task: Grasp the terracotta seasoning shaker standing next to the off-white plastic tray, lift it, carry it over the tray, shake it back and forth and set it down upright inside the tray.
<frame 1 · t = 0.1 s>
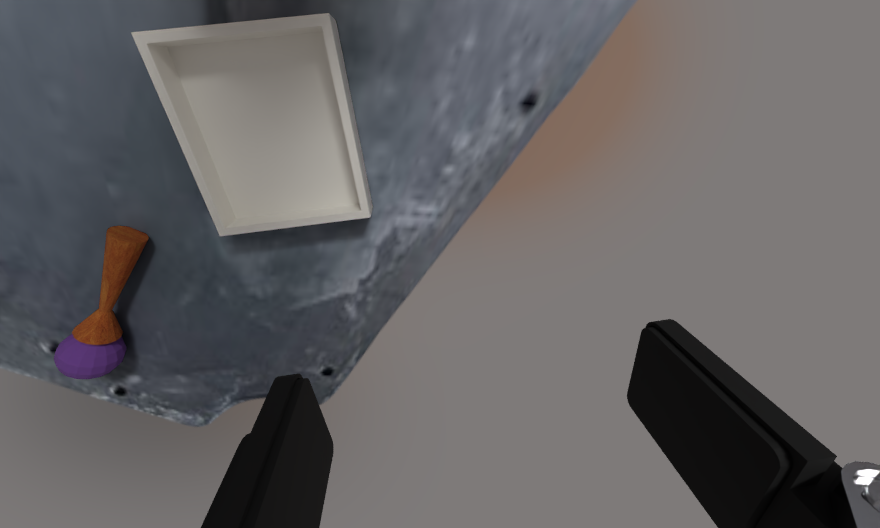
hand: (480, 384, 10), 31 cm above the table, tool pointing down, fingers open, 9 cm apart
brown purple handled piece: (122, 295, 41), on the table
tray: (279, 133, 34), on the table
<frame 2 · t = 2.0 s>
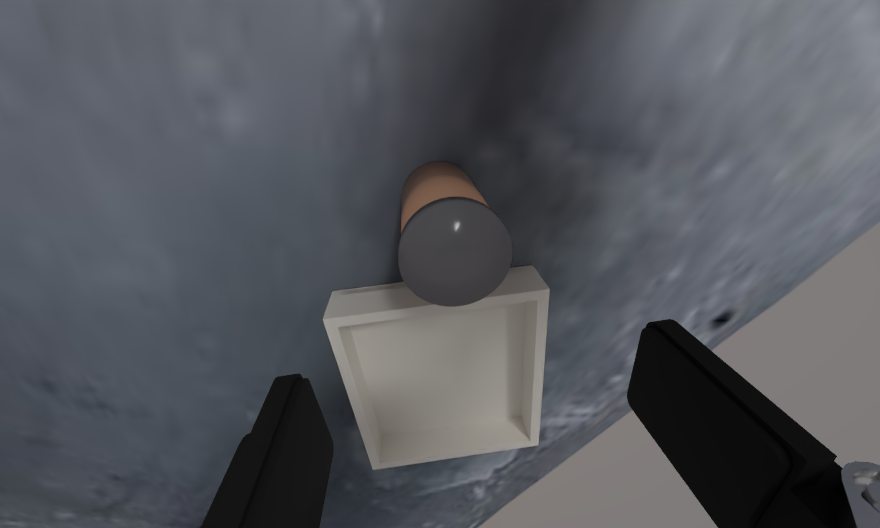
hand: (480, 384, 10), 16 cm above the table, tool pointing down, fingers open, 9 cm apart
tray: (443, 361, 30), on the table
shaker: (438, 198, 23), on the table
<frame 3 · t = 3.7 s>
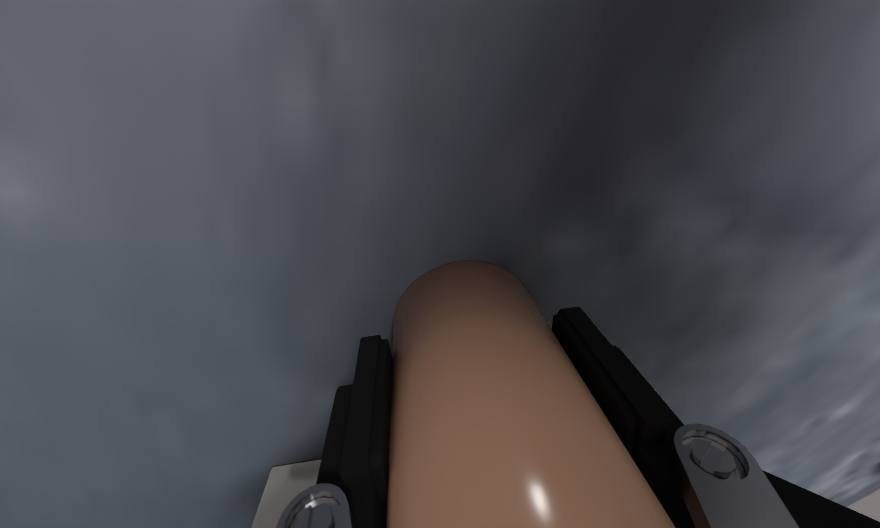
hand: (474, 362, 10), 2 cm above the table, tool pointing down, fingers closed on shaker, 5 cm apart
shaker: (463, 323, 12), on the table, touching gripper
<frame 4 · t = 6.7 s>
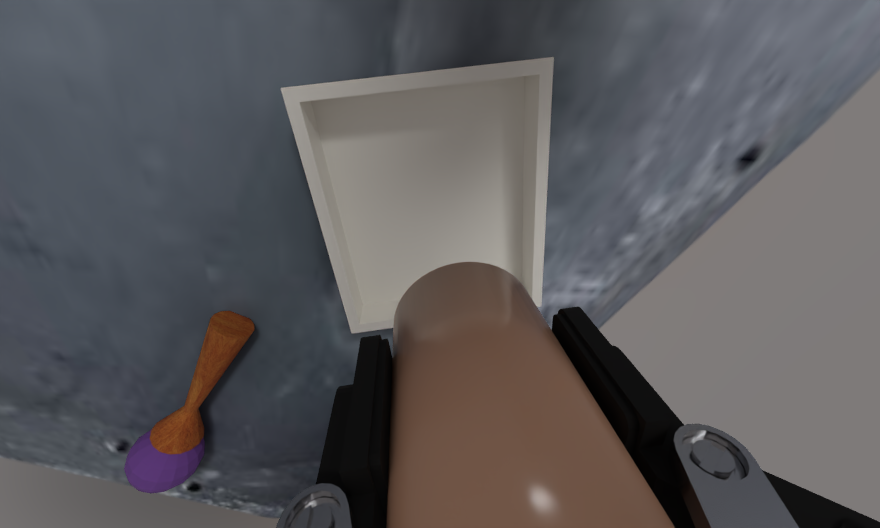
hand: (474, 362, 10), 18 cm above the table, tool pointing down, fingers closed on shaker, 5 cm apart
brown purple handled piece: (206, 383, 33), on the table
tray: (432, 202, 26), on the table
shaker: (463, 324, 12), point 16 cm above the table, touching gripper
when the fingers open (4 cm above the table, at t = 10.0 s): shaker drops 1 cm, resting on tray.
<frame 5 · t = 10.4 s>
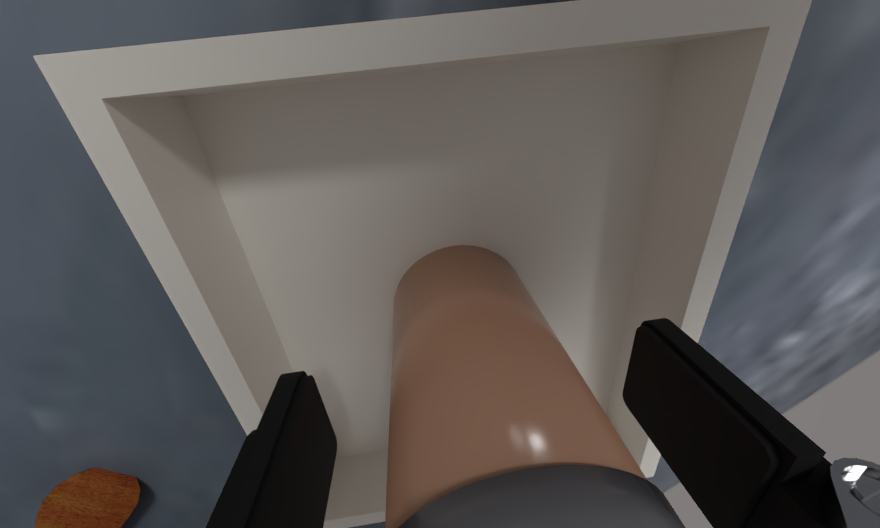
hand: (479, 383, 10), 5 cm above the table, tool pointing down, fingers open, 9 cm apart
tray: (455, 294, 14), on the table
shaker: (458, 304, 13), point 1 cm above the table, touching tray
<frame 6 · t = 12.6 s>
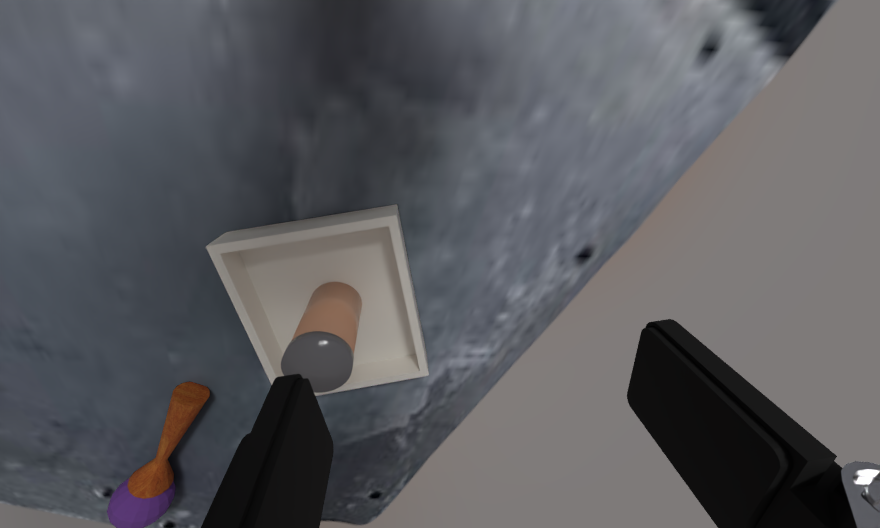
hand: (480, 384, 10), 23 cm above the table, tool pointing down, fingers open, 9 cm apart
brown purple handled piece: (176, 437, 40), on the table
tray: (338, 299, 34), on the table
shaker: (336, 303, 34), point 1 cm above the table, touching tray
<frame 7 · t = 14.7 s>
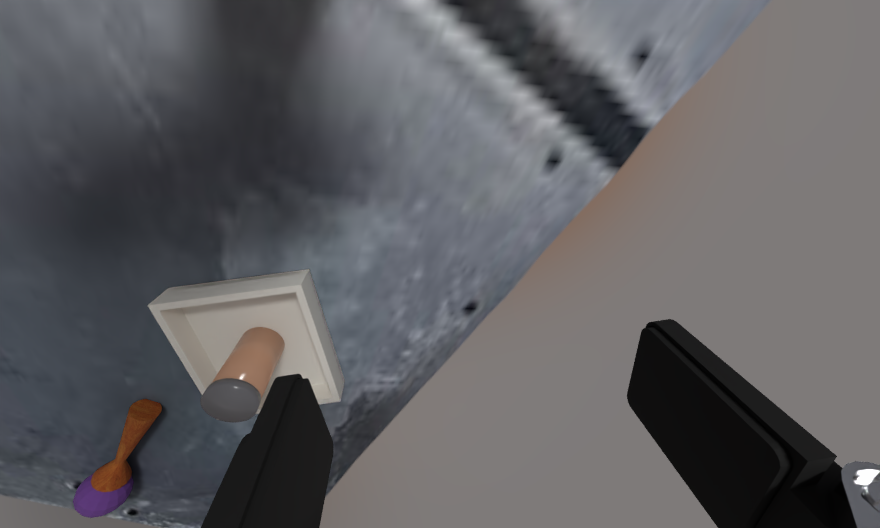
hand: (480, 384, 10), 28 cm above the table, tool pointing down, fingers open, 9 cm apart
brown purple handled piece: (134, 441, 48), on the table
tray: (265, 339, 42), on the table
shaker: (263, 343, 41), point 1 cm above the table, touching tray
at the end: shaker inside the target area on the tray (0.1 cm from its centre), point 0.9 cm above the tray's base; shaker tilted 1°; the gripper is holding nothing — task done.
